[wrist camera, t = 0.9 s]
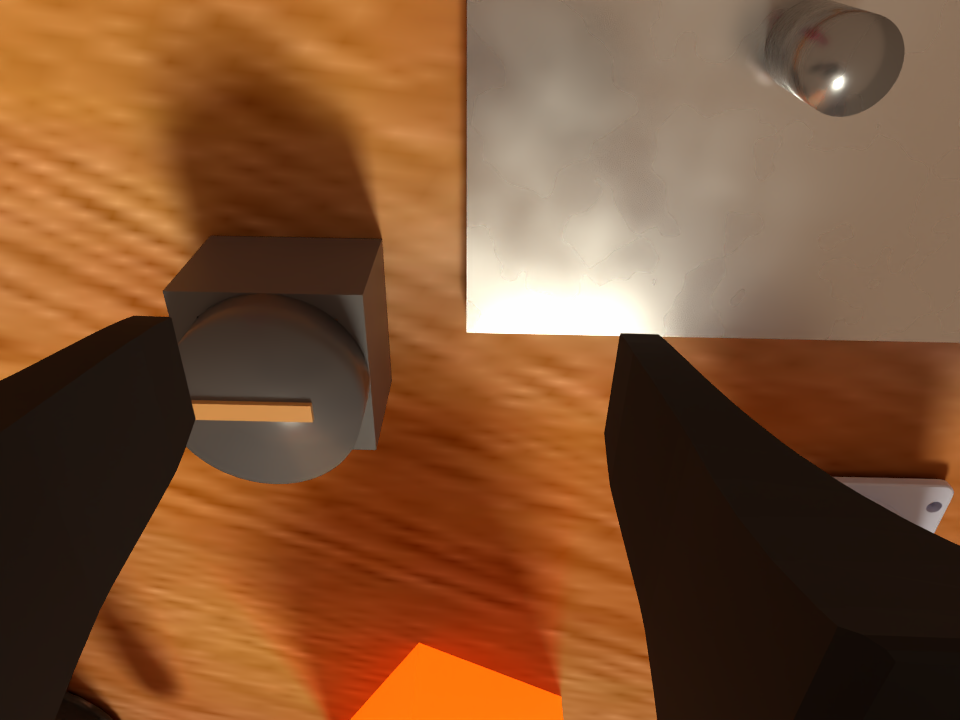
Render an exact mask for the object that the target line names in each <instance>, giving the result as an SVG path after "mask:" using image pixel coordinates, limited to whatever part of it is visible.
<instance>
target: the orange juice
mask: <svg viewBox="0 0 960 720" xmlns="http://www.w3.org/2000/svg"><path fill="white" fill-rule="evenodd" d="M350 720H563V712H562V699H561V696H558V695H556V694H553V693H550V692H548V691H545V690H542V689H540V688H537V687H535V686H532V685H529V684H527V683H524V682H521V681H519V680H516V679H513V678H511V677H508V676H506V675H503V674H500V673H498V672H495V671H492V670H490V669H487V668H484V667H482V666H479V665H477V664H474V663H471V662H469V661H466V660H463V659H461V658H458V657H455V656H453V655H450V654H448V653H445V652H442V651H440V650H437V649H434V648H432V647H429V646H426V645H424V644H421V643H418V644H417V645H416V647H415V648H414V649H413V650H412V651H411V652H410V653H409V654H408V656H407V657H406V658H405V659H404V660H403V661H402V662H401V663H400V664H399V666H398V667H397V668H396V669H395V670H394V671H393V672H392V673H391V675H390V676H389V677H388V678H387V679H386V680H385V681H384V682H383V684H382V685H381V686H380V687H379V688H378V689H377V690H376V691H375V692H374V694H373V695H372V696H371V697H370V698H369V699H368V700H367V701H366V703H365V704H364V705H363V706H362V707H361V708H360V709H359V710H358V711H357V713H356V714H355V715H354V716H353V717H352V718H351V719H350Z"/></svg>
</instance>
